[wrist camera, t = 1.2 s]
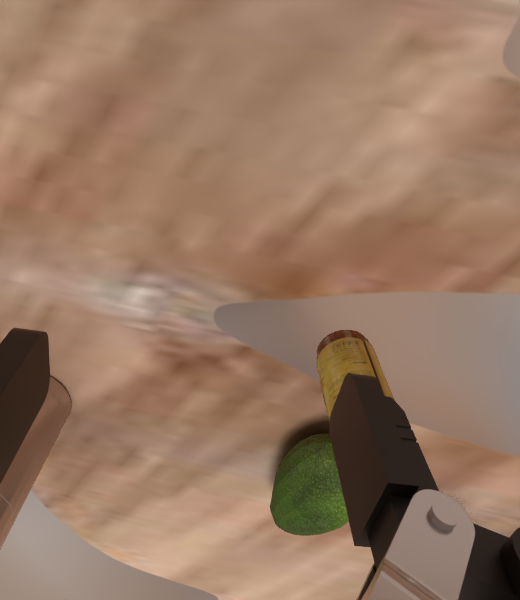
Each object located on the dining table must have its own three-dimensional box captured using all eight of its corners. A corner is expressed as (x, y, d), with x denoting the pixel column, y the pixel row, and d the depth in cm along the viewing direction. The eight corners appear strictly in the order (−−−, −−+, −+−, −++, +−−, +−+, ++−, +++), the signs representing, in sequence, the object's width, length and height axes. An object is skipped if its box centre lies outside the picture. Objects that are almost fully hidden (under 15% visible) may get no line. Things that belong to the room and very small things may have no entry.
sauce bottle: (304, 358, 49) (326, 530, 32) (336, 317, 46) (380, 482, 29) (352, 381, 51) (398, 556, 34) (386, 342, 48) (455, 513, 31)
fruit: (307, 499, 62) (315, 574, 53) (246, 473, 59) (244, 548, 51) (378, 434, 55) (400, 508, 47) (313, 402, 53) (323, 474, 44)
